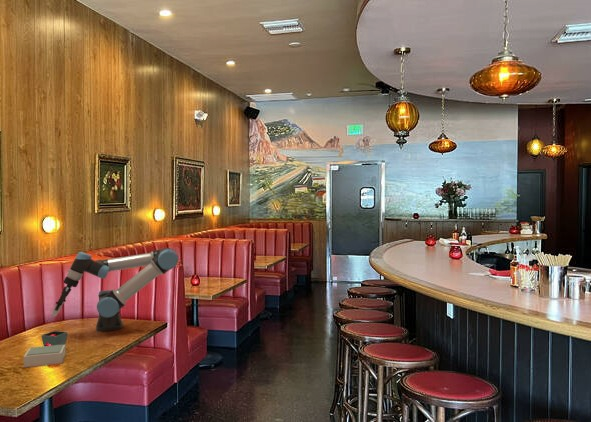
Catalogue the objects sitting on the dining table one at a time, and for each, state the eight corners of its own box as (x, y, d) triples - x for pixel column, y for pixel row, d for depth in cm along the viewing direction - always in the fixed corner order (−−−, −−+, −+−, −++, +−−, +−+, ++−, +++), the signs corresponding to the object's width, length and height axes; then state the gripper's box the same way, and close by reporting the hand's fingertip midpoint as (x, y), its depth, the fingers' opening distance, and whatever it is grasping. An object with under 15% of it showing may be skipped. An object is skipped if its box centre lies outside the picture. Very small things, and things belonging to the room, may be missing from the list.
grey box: (65, 354, 242) (65, 343, 242) (61, 363, 229) (61, 351, 229) (29, 358, 237) (29, 347, 237) (23, 367, 224) (23, 355, 224)
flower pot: (54, 354, 243) (54, 336, 243) (41, 352, 246) (40, 335, 246) (68, 349, 251) (67, 332, 251) (54, 347, 254) (54, 330, 254)
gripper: (68, 273, 284) (50, 307, 280) (64, 277, 260) (45, 314, 256) (80, 278, 286) (63, 312, 282) (77, 283, 262) (59, 320, 259)
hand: (54, 313), depth 269 cm, fingers open, 13 cm apart
